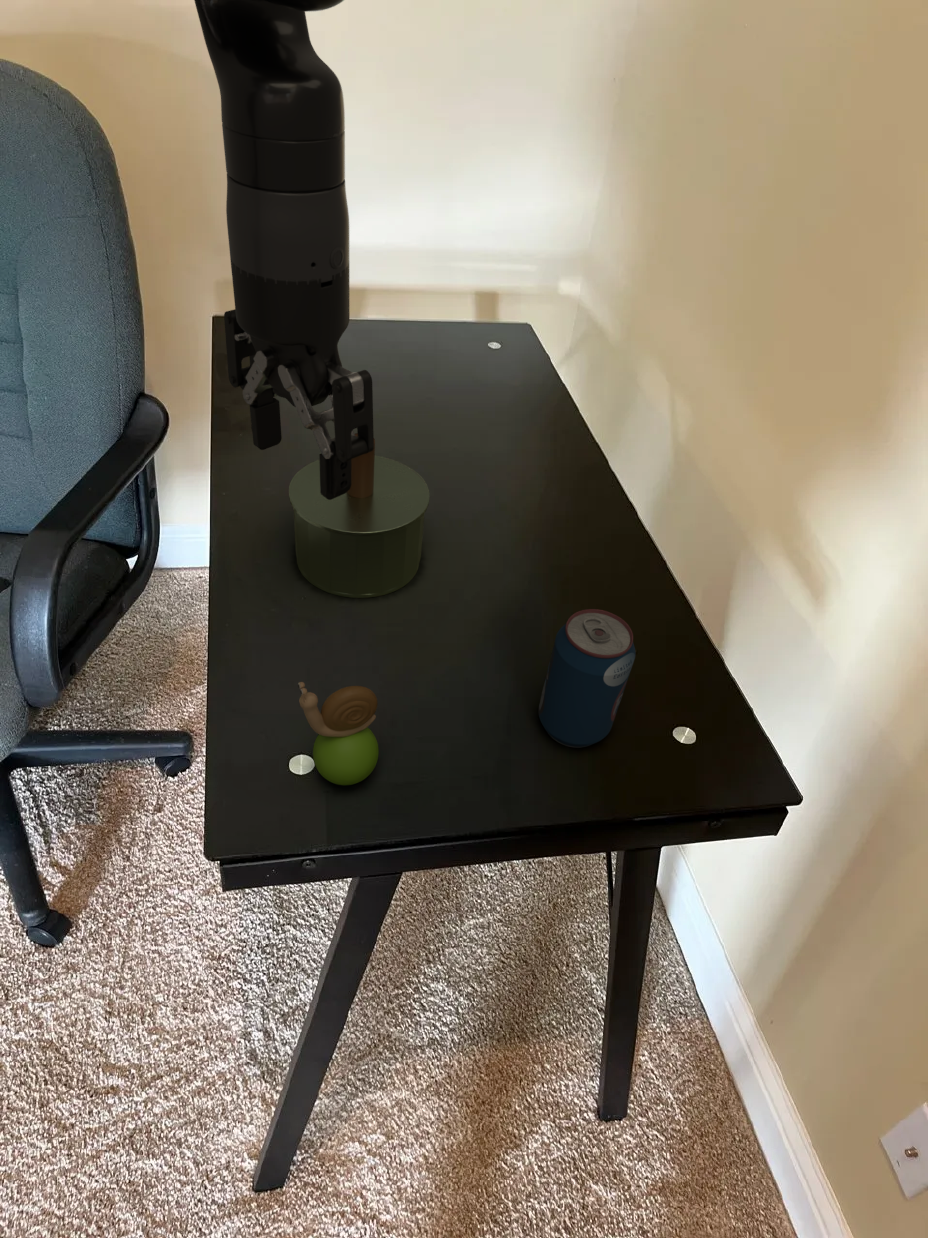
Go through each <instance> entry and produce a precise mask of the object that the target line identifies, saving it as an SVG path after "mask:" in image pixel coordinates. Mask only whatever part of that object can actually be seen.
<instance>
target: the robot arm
mask: <svg viewBox="0 0 928 1238" xmlns="http://www.w3.org/2000/svg"><path fill="white" fill-rule="evenodd" d="M193 1H194V4H195V8H196V11H197V17H198V19H199V20H198V21H199V23H200V29H201V31H202V35H203V40H204V42H205V43H204V44H205V46H206V49H207V53H208V56H209V60H210V63H211V65H212V67H213V71H214V74H215V78H216V82H217V84H218V89H219V94H220V109H221V110H220V111H221V113H220V115H221V129H222V139H223V140H222V141H223V150H224V159H225V161H224V163H225V170H226V171H225V172H226V205H225V206H226V207H225V208H226V209H225V211H226V213H225V214H226V226H227V227H226V228H227V236H228V237H227V238H228V247H229V249H228V250H229V259H230V269H231V279H232V287H233V288H232V290H233V291H232V292H233V300H234V308H233V309H230V310H227V311H224V313H223V321H224V333H225V347H226V348H225V350H226V362H227V373H228V374H227V375H228V381H229V383H230V386H232V387H233V388H241V390H242V397H243V400H244V401H245V403H246V404H247V405H249V414H250V424H251V427H250V428H251V432H252V433H251V435H252V443H253V445H254V446H255V447H256V448H257V449H259V450H260V451H264V450H266V449H270V448H273V447H275V446H278V445H279V444H280V443H281V441H282V421H281V409H280V408H281V406H280V400H278V399H277V398H276V397H280V398H283V399H286V400H287V401H288V403H289V404H291V405H292V406H293V407H294V408H295V409H296V411H297V414H298V416H299V419H300V421H301V424H302V426H303V427H304V428H305V429H307V430H310V431H311V432H312V434H313V436H314V439H315V442H316V443H317V446H318V449H319V452H320V453H319V454H318V457H319V458H318V460H319V461H320V493H321V495H323V496H324V497H325V498H327V499H328V500H331V499H334V498H336V497H338V496H341V495H343V494H345V493H346V492H347V491H348V490H350V488H351V459H353V458H356V457H358V456H361V455H363V454H366V453H369V452H371V451H373V449H374V439H375V436H374V398H373V397H374V394H373V393H374V392H373V378H372V375H371V374H370V372H369V371H368V370H366V369H362V370H359V371H355V372H352V371H350V370H349V369H346V367H343V363H342V360H341V357H340V352H339V347H338V345H339V342H340V339H341V337H342V336H343V334H344V333H345V331H346V329H347V328H348V327H349V323H350V215H349V213H350V212H349V205H348V199H347V198H348V197H347V188H346V130H345V129H346V113H345V112H346V111H345V110H346V109H345V98H344V92H343V88H342V87H343V86H342V83H341V81H340V79H339V77H338V76H337V75H336V72H335V71H333V70H332V68H330V67H329V65H328V64H327V63H325V61H323V59H322V58H321V57H320V56H319V55H318V54H317V51H315V48H314V47H313V44H312V41H311V37H310V33H309V27H308V21H307V15H306V13H307V12H308V13H309V12H311V13H312V12H322V11H325V10H329V9H332V8H335V7H336V6H338V5H340V4H341V3H343V2H344V1H345V0H193ZM248 357H249V365H248V366H244V367H243V363H242V361H243V360H244V359H245V358H248ZM327 398H328V399H329V401H330V402H331V407H330V408H329V409H326V410H323V411H320V412H318V411H317V410H314V408H313V407H315V406H318V405H321V404H322V403H324V402H325V401H326V400H327ZM328 422H333V425H334V427H333V428H334V437H333V438H332V437H331V434H330V432H329V430H328V428H327V423H328ZM355 429H356V430H357V434H358V436H355V431H354V430H355Z"/></svg>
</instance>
